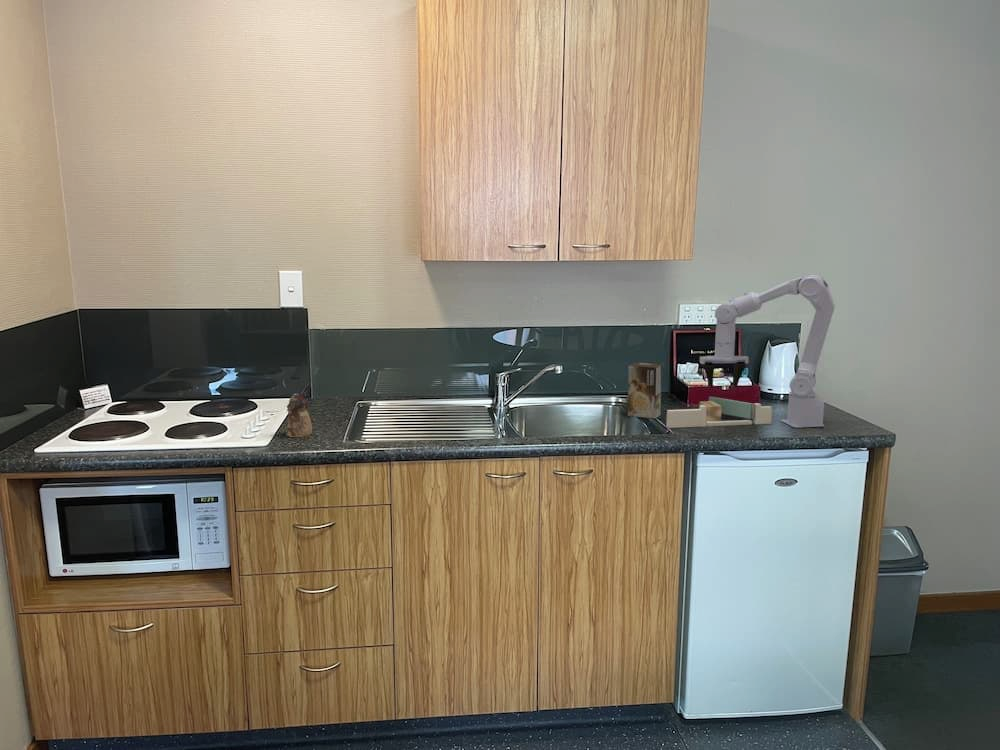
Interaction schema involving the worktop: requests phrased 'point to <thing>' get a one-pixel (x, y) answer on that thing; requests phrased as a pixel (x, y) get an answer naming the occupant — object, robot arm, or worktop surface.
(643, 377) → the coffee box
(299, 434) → the figurine
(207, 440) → the worktop surface
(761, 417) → the door frame
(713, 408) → the doorstop
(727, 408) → the door
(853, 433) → the worktop surface
